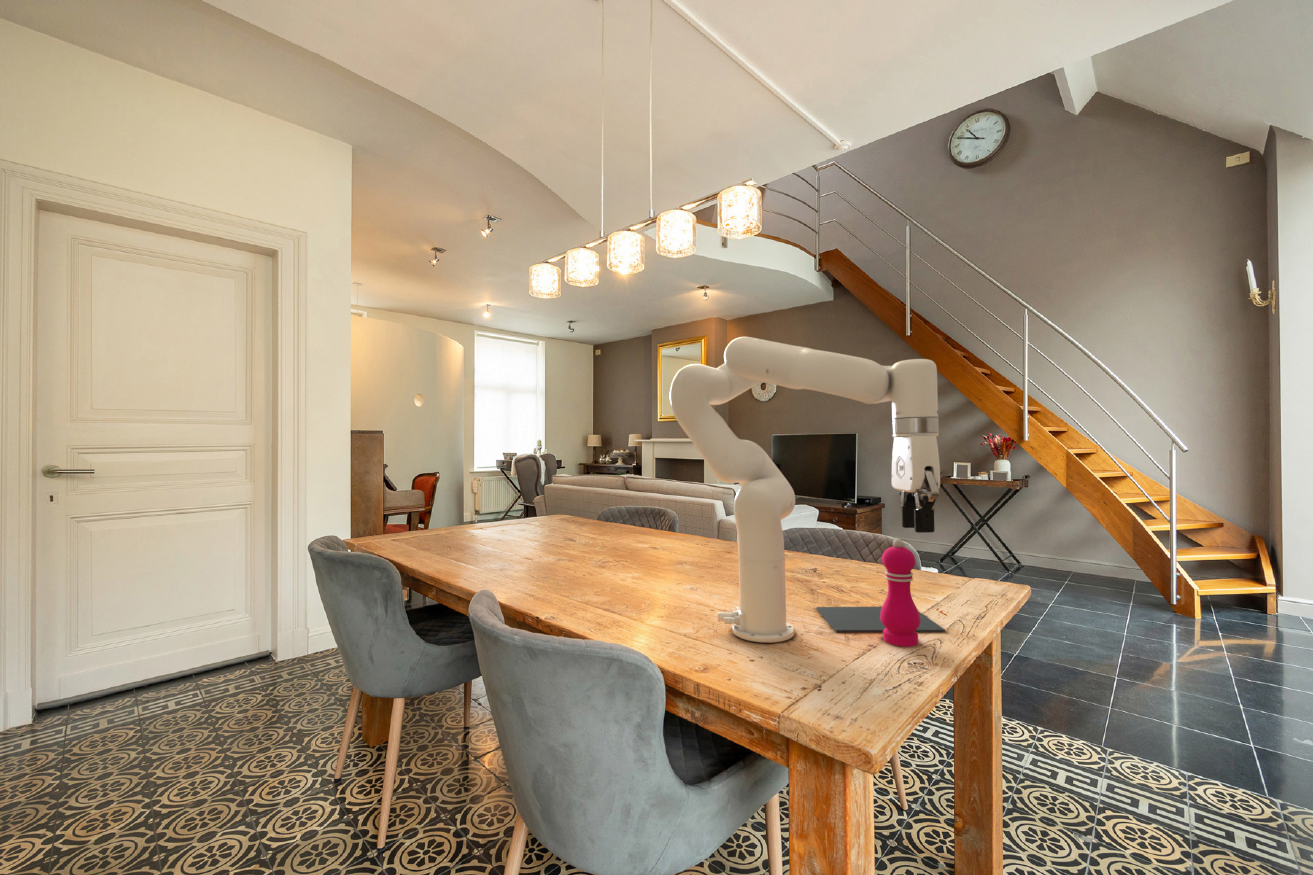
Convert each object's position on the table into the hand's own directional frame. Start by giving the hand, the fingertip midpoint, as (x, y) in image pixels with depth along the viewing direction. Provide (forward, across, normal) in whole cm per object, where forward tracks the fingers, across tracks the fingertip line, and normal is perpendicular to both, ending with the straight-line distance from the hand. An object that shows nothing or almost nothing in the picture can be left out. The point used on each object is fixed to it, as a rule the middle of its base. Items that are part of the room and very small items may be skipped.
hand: (917, 528), depth 96 cm
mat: (+23, -22, 0) cm, 32 cm away
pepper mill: (+24, -9, 0) cm, 25 cm away
